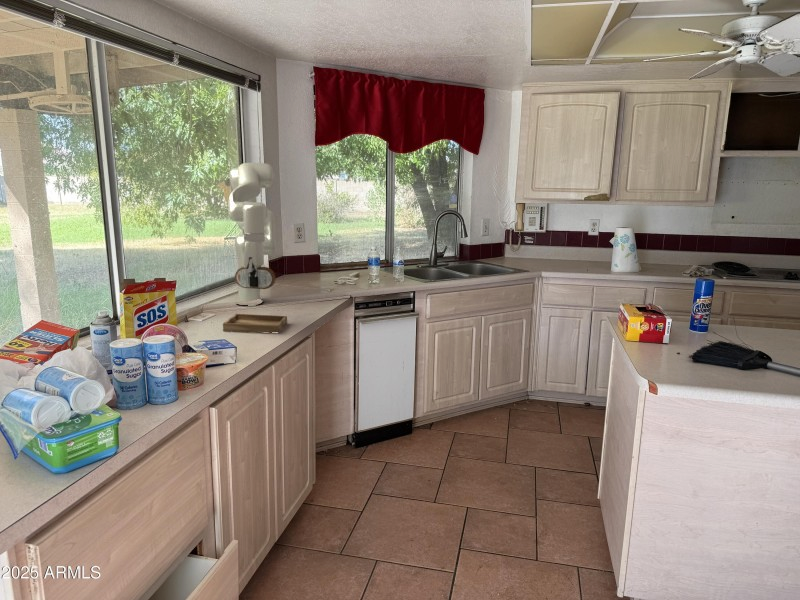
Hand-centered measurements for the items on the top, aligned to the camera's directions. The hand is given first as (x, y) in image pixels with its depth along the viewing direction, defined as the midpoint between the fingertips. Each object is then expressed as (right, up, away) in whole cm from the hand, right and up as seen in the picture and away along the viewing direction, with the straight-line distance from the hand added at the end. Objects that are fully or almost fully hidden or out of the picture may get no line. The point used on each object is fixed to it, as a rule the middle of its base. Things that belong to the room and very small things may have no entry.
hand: (255, 285), depth 205 cm
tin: (0, -1, 0) cm, 1 cm away
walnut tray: (-1, -16, +4) cm, 16 cm away
